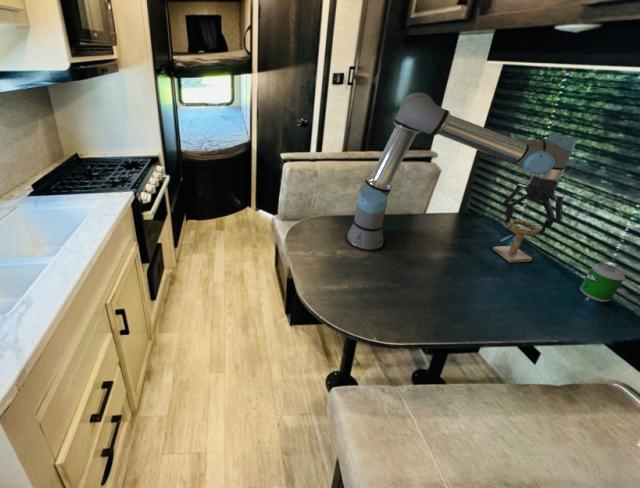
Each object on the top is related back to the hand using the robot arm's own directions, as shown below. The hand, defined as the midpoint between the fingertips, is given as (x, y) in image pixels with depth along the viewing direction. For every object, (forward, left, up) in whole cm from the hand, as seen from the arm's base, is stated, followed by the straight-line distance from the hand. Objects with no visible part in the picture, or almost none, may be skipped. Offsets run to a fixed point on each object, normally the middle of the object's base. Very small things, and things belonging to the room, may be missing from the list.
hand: (523, 227), depth 126 cm
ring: (0, 0, 0) cm, 0 cm away
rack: (0, 0, -14) cm, 14 cm away
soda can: (+24, +9, -14) cm, 29 cm away
